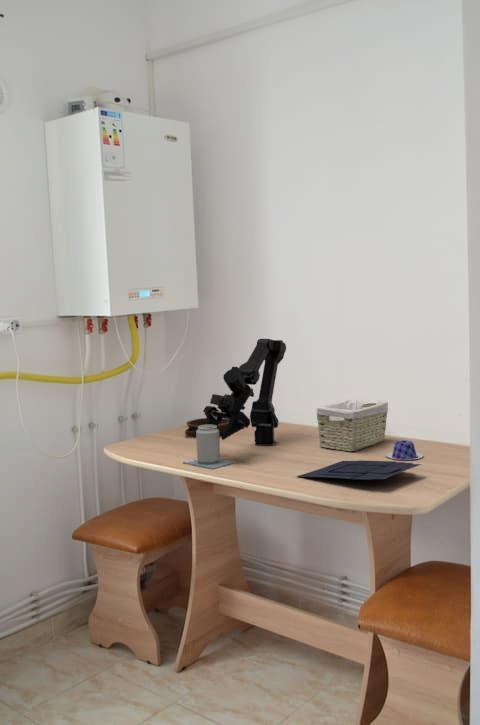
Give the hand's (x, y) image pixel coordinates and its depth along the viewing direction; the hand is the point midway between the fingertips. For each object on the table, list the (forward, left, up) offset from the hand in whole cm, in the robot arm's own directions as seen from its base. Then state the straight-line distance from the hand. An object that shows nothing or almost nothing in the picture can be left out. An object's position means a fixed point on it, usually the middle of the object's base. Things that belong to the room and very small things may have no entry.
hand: (213, 437), depth 252 cm
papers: (-48, +15, -9) cm, 51 cm away
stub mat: (+1, +2, -8) cm, 9 cm away
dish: (+12, -45, -9) cm, 47 cm away
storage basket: (-44, -28, -9) cm, 53 cm away
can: (+1, +2, -8) cm, 8 cm away
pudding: (-62, -11, -9) cm, 63 cm away
